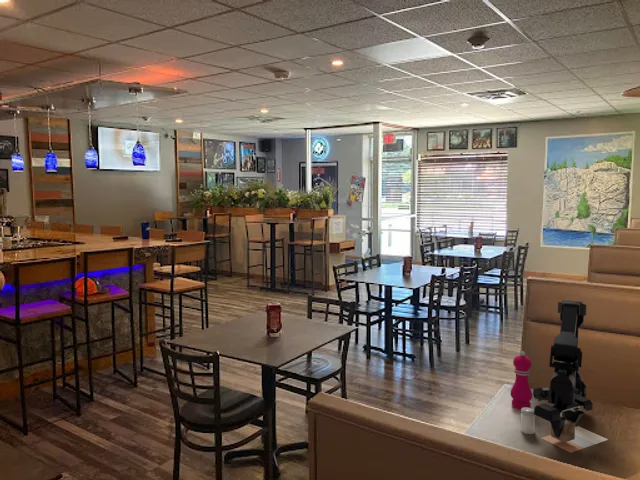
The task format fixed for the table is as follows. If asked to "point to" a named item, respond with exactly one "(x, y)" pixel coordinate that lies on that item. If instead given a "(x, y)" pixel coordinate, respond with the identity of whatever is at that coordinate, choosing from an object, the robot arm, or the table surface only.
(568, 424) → the block
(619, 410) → the table surface
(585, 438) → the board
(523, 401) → the pepper mill
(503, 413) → the table surface
